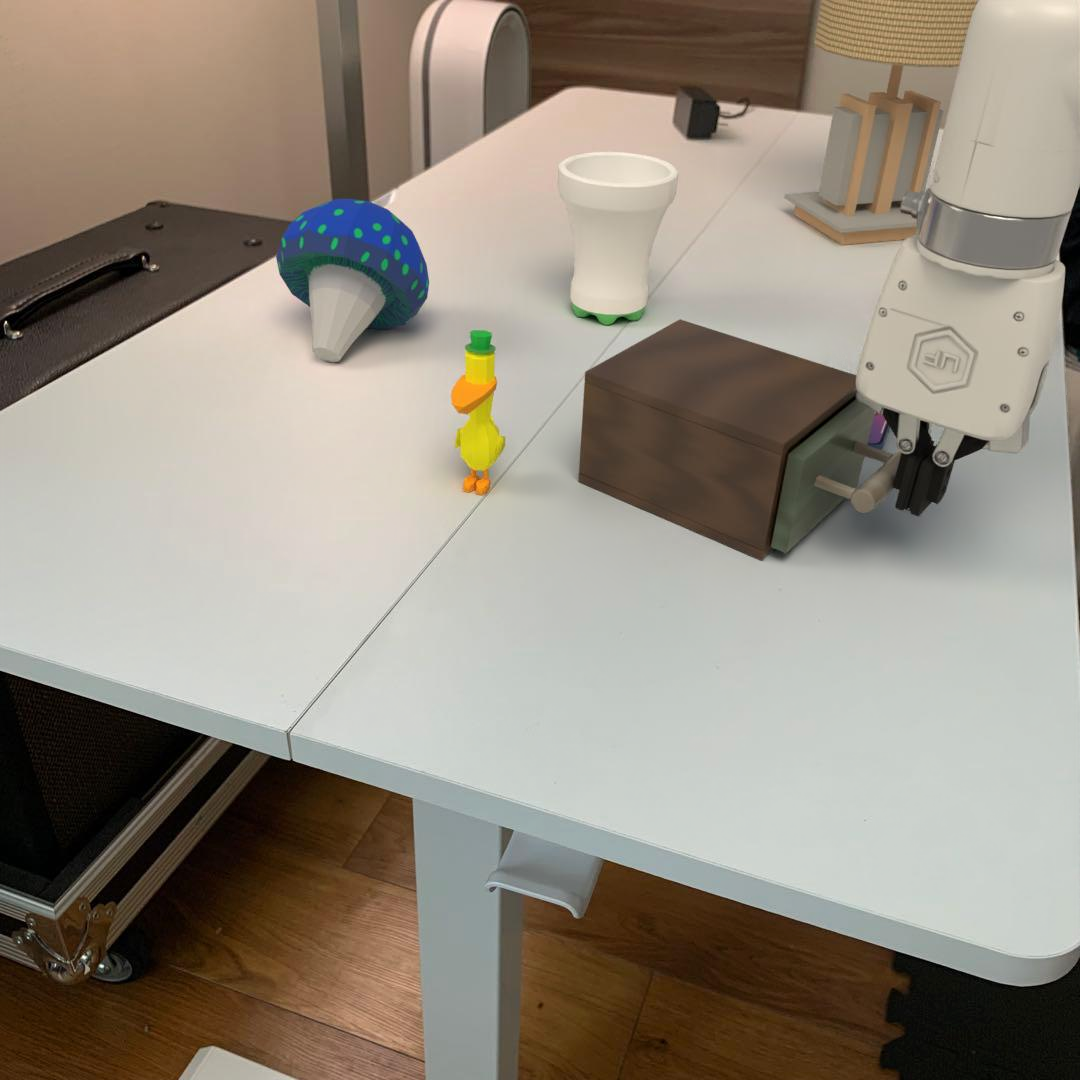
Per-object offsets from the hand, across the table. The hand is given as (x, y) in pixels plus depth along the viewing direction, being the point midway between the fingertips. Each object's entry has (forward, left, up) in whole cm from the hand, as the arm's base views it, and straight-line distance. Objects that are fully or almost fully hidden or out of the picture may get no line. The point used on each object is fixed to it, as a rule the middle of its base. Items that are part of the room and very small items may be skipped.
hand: (915, 503), depth 71 cm
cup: (+40, -22, -5) cm, 46 cm away
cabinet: (+15, 0, -5) cm, 16 cm away
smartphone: (+15, -14, -5) cm, 21 cm away
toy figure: (+28, +12, -5) cm, 31 cm away
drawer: (+11, 0, -4) cm, 12 cm away
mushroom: (+54, -1, -5) cm, 54 cm away
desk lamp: (+32, -66, -5) cm, 74 cm away
